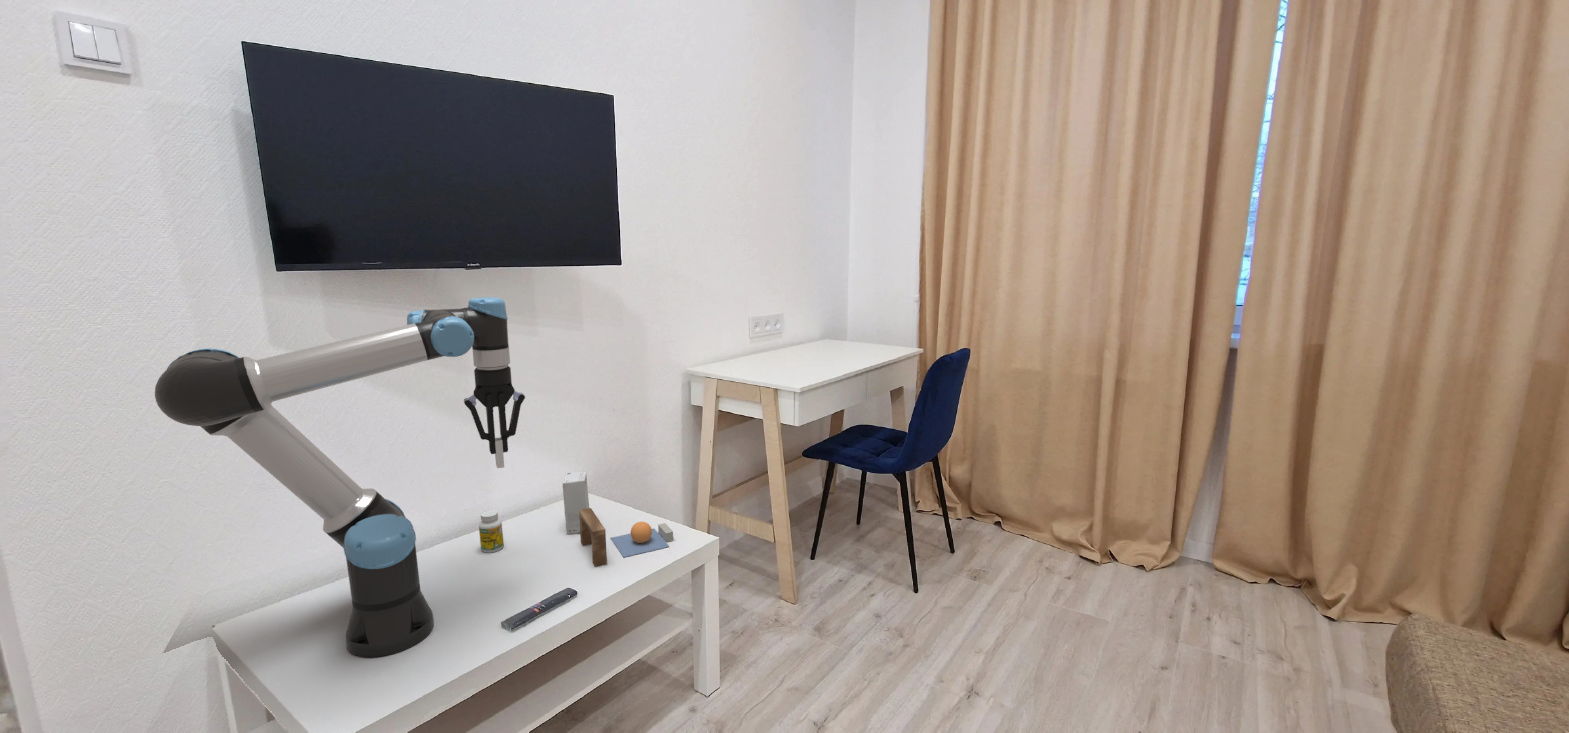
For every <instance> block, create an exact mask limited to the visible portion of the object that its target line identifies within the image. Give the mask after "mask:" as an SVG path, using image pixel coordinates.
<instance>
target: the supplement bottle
mask: <svg viewBox="0 0 1569 733" xmlns="http://www.w3.org/2000/svg"><path fill="white" fill-rule="evenodd" d="M480 520H481V521H480V522H479V524H478V531H479V533H478V534H479V544H480V550H481V551H482V552H483V553H489V554H490V553H495V552H498V551H501V550H502V548H504V534H503V532H504V531H503V524H502V520H501V518H499V513H498V511H497V510H493V509H492V510H485V511H484V512H482V513H481V514H480Z"/></svg>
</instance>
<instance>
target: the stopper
mask: <svg viewBox="0 0 1569 733" xmlns="http://www.w3.org/2000/svg"><path fill="white" fill-rule="evenodd" d="M657 526H658V531H657V532H658V534H659V535H660V536H661V537H662V538H663V539H664V541H665V542H666V543H669V542H672V541H674V531H673V529H671V528H670V526H669V525H667V523H666V522H665V523H663V522H662V523H659V524H657Z"/></svg>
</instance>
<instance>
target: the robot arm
mask: <svg viewBox="0 0 1569 733" xmlns="http://www.w3.org/2000/svg"><path fill="white" fill-rule="evenodd" d="M507 315H508V314H507V309H506V302H505V301H504V300H503V298H500V297H496V296H495V297H494V296H493V297H490V296H489V297H488V296H485V297H483V296H482V297H473V298H470V299H469V300H468V305H467V307H463V308H445V309H441V308H440V309H423V310H414V311H410V312H409V313H408V314H407V316H406V325H402V326H397V327H394V328H390V329H389V328H388V329H384V330H380V331H376V332H372V333H367V334H362V335H359V336H355V337H351V338H346V339H341V340H338V341H334V342H329V343H325V344H320V345H316V346H313V347H307V348H303V349H299V350H295V351H291V352H286V353H282V354H278V355H273V356H269V357H265V358H260V359H254V358H251V357H249V356H242V357H239V356H238V355H236V354H235V353H232V352H230V351H228V350H224V349H219V348H211V347H210V348H209V347H208V348H199V349H195V350H192V351H188V352H187V353H185V354H182V355H179V356H178V357H177V358H176V359H175V360H173V361H171V363H169V365H168V366H167V368H166V369H165V371H163V373H162V374H161V375H160V376H159V378H158V380H157V382H156V384H155V386H154V387H155V388H154V398H155V403H156V405H157V407H158V408H159V409H160V411H161V412H162V413H163V414H164V415H165V416H166V417H168V418H169V419H171V420H173V421H174V422H177V423H180V424H183V425H187V426H193V427H195V426H196V427H200V428H201V429H203V430H204V431H205V432H206V433H207V434H209V435H210V436H222V437H223V436H224V437H227V438H228V439H230V440H231V441H232V442H233V443H234V444H235V445H237V447H239V448H240V449H241V450H242V451H243V452H244V453H245V454H247V455H248V456H249V457H250V458H251V459H253V460H254V461H255V462H256V463H257V464H259V465H260V466H261V467H262V468H264V470H266V471H267V472H268V473H269V474H270V475H271V476H272V477H274V479H276V480H277V481H278V482H279V483H280V484H282V485H283V486H284V487H285V488H286V489H287V490H288V491H289V492H291V493H293V494H294V495H295V496H296V497H297V499H299V500H300V501H302V503H304V504H305V505H306V506H308V507H309V509H311V510H312V511H313V512H315V514H317V515H318V516H319V517H320V518H322V519H323V526H322V530H323V532H324V533H325V534H327V535H328V536H329V537H330V538H331V539H333V540H334V542H336V543H337V544H338V545H339V546H340V547H341V548H343V553H344V556H345V560H346V561H345V562H346V567H347V574H348V580H349V582H348V583H349V589H350V596H351V603H352V610H351V613H350V618H349V621H348V624H347V628H346V633H345V643H346V649H347V650H348V652H349V653H350V654H352V655H354V656H358V657H362V658H363V657H364V658H375V657H376V658H377V657H384V656H388V655H393V654H396V653H399V652H401V651H405V650H407V649H410V648H411V647H413V646H414V645H417V644H418V643H420V642H422V641H423V640H424V639H425V638H427V636H428V635H430V633H432V630H433V629H434V626H435V621H434V613H433V610H432V609H431V607H430V605H429V602H428V601H427V600H426V598H425V596H424V594H423V593H422V591H421V584H420V574H419V573H420V572H419V567H418V566H419V564H418V558H417V557H418V555H417V549H416V548H417V547H416V541H417V535H416V531H415V529H414V526H413V524H412V521H410V519H409V518H407V517H406V515H405V513H404V512H403V510H402V508H401V507H400V506H399V505H397V503H395V502H393V501H392V500H390V499H387V498H385V497H383V495H381V493H380V492H378V491H377V490H376V489H374V488H372V487H371V488H362V487H361V486H360V485H358V484H357V483H356V482H355V481H354V480H353V479H352V478H351V477H350V476H349V475H348V474H347V473H345V471H344V470H343V469H341V468H340V467H339V466H338V465H337V464H336V463H334V461H332V459H330V458H329V457H328V456H327V455H326V454H325V453H324V452H323V451H321V450H320V449H319V448H318V447H317V446H316V445H315V444H314V443H313V442H312V441H311V440H310V439H308V437H307V436H305V435H304V433H302V432H301V431H300V430H299V429H298V428H297V427H296V426H295V425H293V423H291V422H290V421H289V420H288V419H287V418H286V417H285V416H284V415H283V414H282V413H281V412H279V410H277V409H276V408H275V406H273V405H272V403H273V402H277V401H280V400H283V399H288V398H291V397H294V396H295V397H296V396H299V395H302V394H305V393H310V392H313V391H317V390H318V391H319V390H320V389H321V390H322V389H324V388H328V387H333V386H335V385H340V384H344V383H347V382H351V381H355V380H357V379H363V378H366V377H370V376H373V375H378V374H380V373H385V372H387V371H388V372H389V371H392V370H396V369H399V368H404V367H407V366H412V365H414V364H415V365H416V364H419V363H422V362H426V361H430V360H435V359H438V358H443V357H448V358H455V357H456V358H457V357H460V356H463V355H465V354H467V353H468V352H469V351H470V350H471V349H472V359H473V367H475V369H474V370H473V374H474V385H475V387H474V390H473V394H472V395H471V396H469V397H466V398H464V399H463V403H464V405H465V406H466V408H468V410H469V411H470V414H471V416H472V418H473V422H474V424H475V427H476V429H477V432H478V434H479V437H480V439H481V440H484V441H485V440H486V441H488V446H489V447H488V448H489V449H488V450H489V452H490V454H491V455H494V457H495V466H496V468H497V469H502V468H505V459H504V453H508V451H509V443H508V440H509V438H510V437H513V436H515V435H516V432H517V427H518V424H519V417H520V411H521V407H522V406H521V405H522V403H523V402H524V400H525V399H526V396H525V394H524V393H523V392H519V391H517V390H515V388H514V387H515V386H513V383H512V382H513V381H512V371H511V368H512V367H511V366H509V365H510V364H511V357H510V356H511V355H510V346H509V345H510V344H509V334H508V332H509V331H508V316H507ZM511 398H512V400H513V405H512V410H511V415H510V420H509V425H508V426H507V415H506V405H507V404H508V403H509V401H510V399H511ZM477 401H478V402H480V404H482V405H483V406H484V407H485V412H486V413H485V414H486V422H487V424H486V425H487V426H486V427H487V432H486V431H485V430H484V429H485V428H484V427H483V423H482V421H481V418H480V416H479V415H480V414H479V413H478V410H477V408H476V405H477ZM496 407H497V409H498V410H497V411H498V419H499V420H498V422H499V432H500V436H499V437H496V434H495V433H496V431H495V430H496V429H495V421H494V420H495V418H494V408H496Z"/></svg>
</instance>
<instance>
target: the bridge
mask: <svg viewBox="0 0 1569 733" xmlns="http://www.w3.org/2000/svg"><path fill="white" fill-rule="evenodd" d="M579 519H580V533H579V535H580V544H581V545H582V546H581V547H583V546H589V545H591V554H592V555H591V558H592V565H593V567H594V568H597V567H601V566H604V565H608V556H607V538H606V536H607V533H606V528H605V527H604V524H602V522H601V521H600V519H599V517H598V516H597V515H596V513H595V511H594V510H593V509H592V508H591V507H589V508H587V509H581V510H579Z"/></svg>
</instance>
